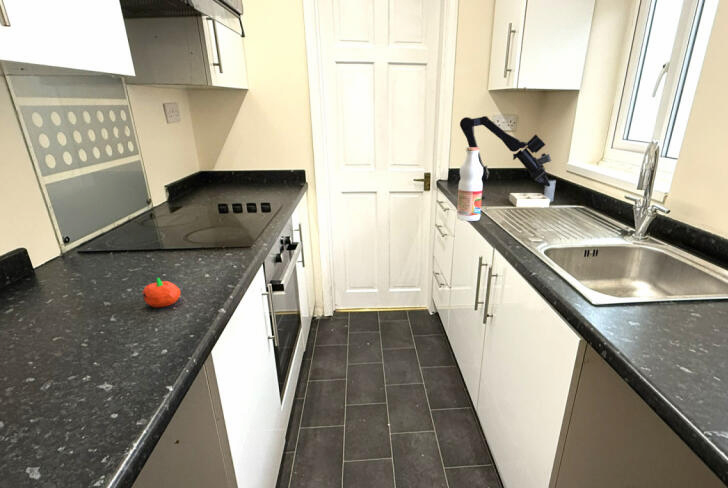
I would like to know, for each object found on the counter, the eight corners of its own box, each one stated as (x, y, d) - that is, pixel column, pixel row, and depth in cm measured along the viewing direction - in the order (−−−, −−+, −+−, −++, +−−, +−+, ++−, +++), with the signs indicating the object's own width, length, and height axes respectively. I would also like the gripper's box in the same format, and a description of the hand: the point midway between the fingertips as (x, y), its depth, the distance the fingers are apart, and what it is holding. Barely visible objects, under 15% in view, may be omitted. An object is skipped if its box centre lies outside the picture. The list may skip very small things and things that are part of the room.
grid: (509, 200, 203) (509, 193, 201) (539, 200, 202) (540, 193, 201) (516, 206, 189) (517, 199, 187) (548, 207, 188) (549, 199, 187)
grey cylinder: (541, 200, 202) (543, 179, 198) (548, 200, 203) (551, 178, 199) (547, 202, 198) (550, 180, 194) (554, 201, 199) (557, 180, 195)
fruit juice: (457, 215, 173) (460, 146, 162) (479, 216, 172) (484, 146, 161) (456, 221, 164) (460, 148, 154) (480, 222, 163) (485, 148, 152)
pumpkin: (160, 314, 89) (153, 287, 87) (139, 306, 93) (132, 280, 90) (190, 302, 95) (184, 276, 93) (169, 295, 99) (163, 270, 96)
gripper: (542, 149, 184) (565, 175, 185) (541, 146, 201) (562, 170, 202) (522, 167, 189) (544, 192, 190) (523, 162, 206) (543, 185, 207)
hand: (549, 184), depth 197 cm, fingers open, 9 cm apart
